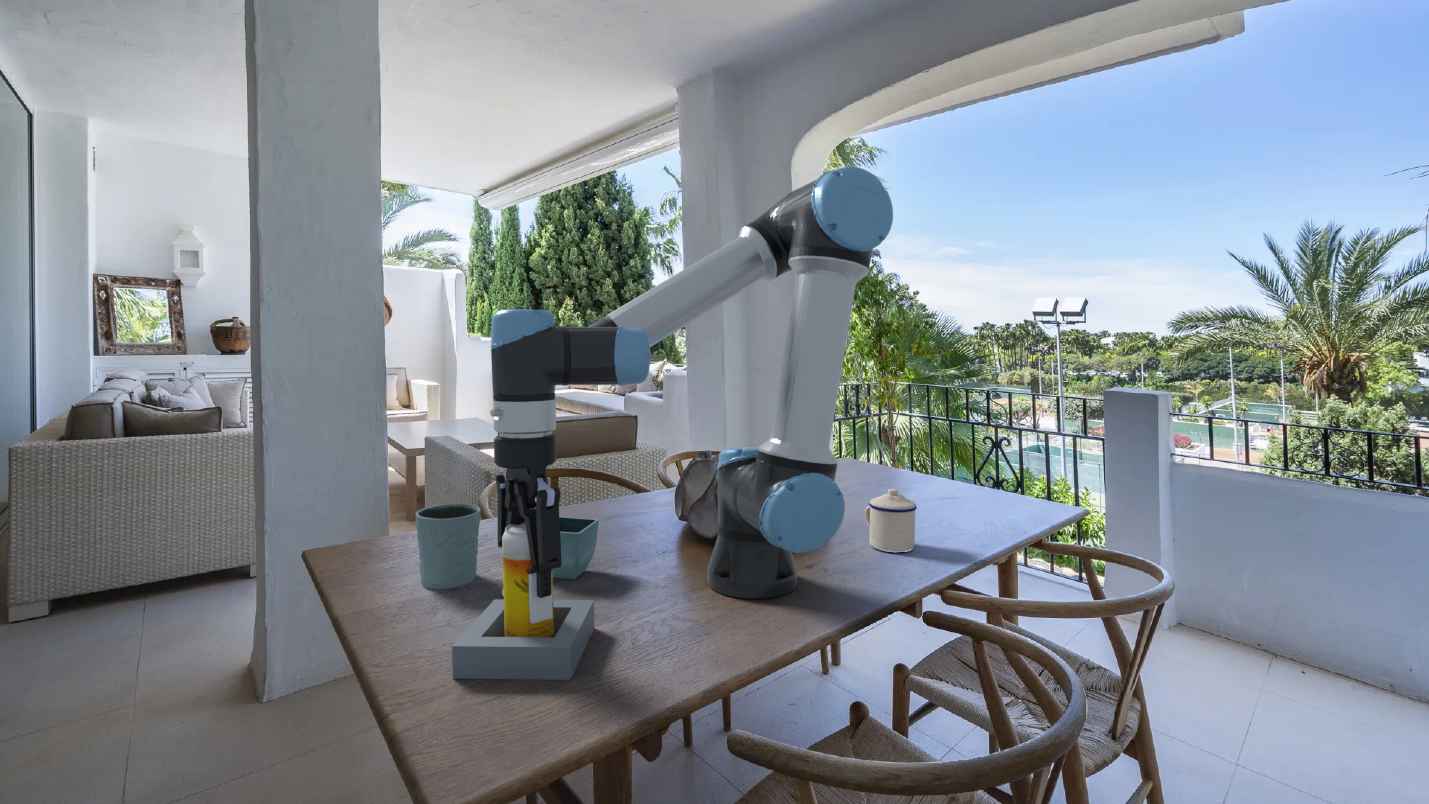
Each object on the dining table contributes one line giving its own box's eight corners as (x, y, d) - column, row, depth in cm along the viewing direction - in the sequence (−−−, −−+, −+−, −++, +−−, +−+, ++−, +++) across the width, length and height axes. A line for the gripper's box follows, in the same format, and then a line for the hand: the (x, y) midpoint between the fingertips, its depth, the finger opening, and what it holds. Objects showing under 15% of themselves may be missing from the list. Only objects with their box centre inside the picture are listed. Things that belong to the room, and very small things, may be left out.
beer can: (537, 654, 78) (535, 535, 77) (495, 647, 80) (491, 531, 78) (562, 633, 84) (560, 522, 83) (522, 627, 85) (519, 518, 84)
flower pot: (580, 585, 105) (579, 532, 104) (531, 581, 106) (530, 529, 106) (600, 567, 113) (599, 518, 112) (554, 564, 115) (553, 516, 114)
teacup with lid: (925, 550, 124) (927, 491, 123) (890, 557, 120) (892, 496, 119) (882, 534, 134) (883, 480, 133) (848, 540, 130) (850, 484, 129)
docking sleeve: (594, 627, 89) (594, 600, 88) (570, 679, 75) (570, 647, 74) (495, 627, 89) (494, 599, 89) (452, 678, 75) (451, 646, 75)
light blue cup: (425, 571, 111) (423, 504, 110) (486, 567, 113) (484, 501, 112) (410, 593, 101) (408, 519, 100) (477, 588, 103) (475, 516, 102)
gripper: (467, 428, 84) (472, 597, 86) (530, 445, 70) (535, 646, 72) (521, 424, 89) (524, 583, 91) (590, 438, 75) (592, 627, 77)
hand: (529, 611), depth 81 cm, fingers closed on beer can, 6 cm apart
